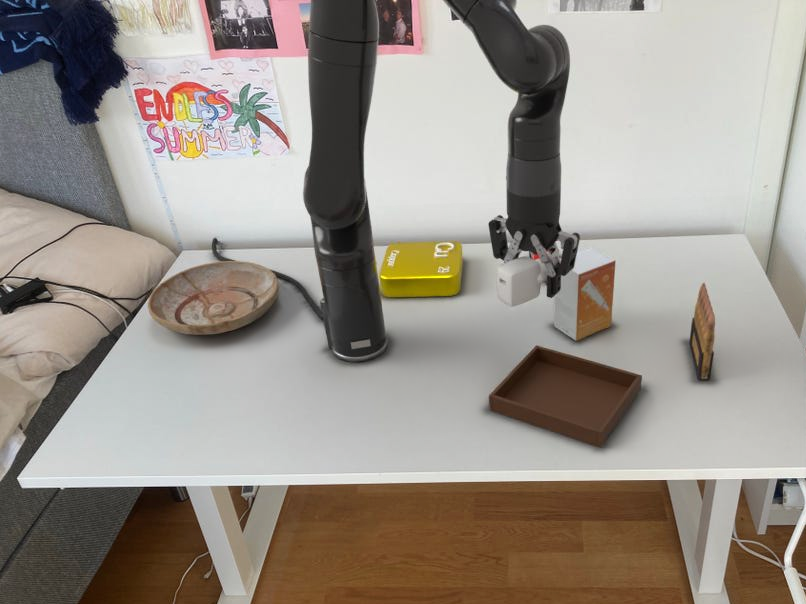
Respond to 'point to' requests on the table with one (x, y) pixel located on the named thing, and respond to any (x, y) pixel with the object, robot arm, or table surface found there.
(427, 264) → the element tile
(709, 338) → the ammunition clip
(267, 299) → the ceramic bowl
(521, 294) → the power adapter
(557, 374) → the tray
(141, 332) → the table surface
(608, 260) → the small box
